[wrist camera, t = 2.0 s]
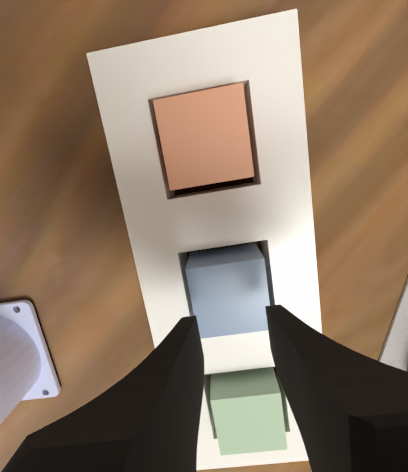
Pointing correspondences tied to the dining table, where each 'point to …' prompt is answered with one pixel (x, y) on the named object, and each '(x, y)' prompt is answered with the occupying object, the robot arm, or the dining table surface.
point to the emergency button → (397, 336)
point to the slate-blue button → (228, 290)
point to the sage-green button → (247, 411)
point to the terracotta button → (205, 136)
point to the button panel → (221, 199)
